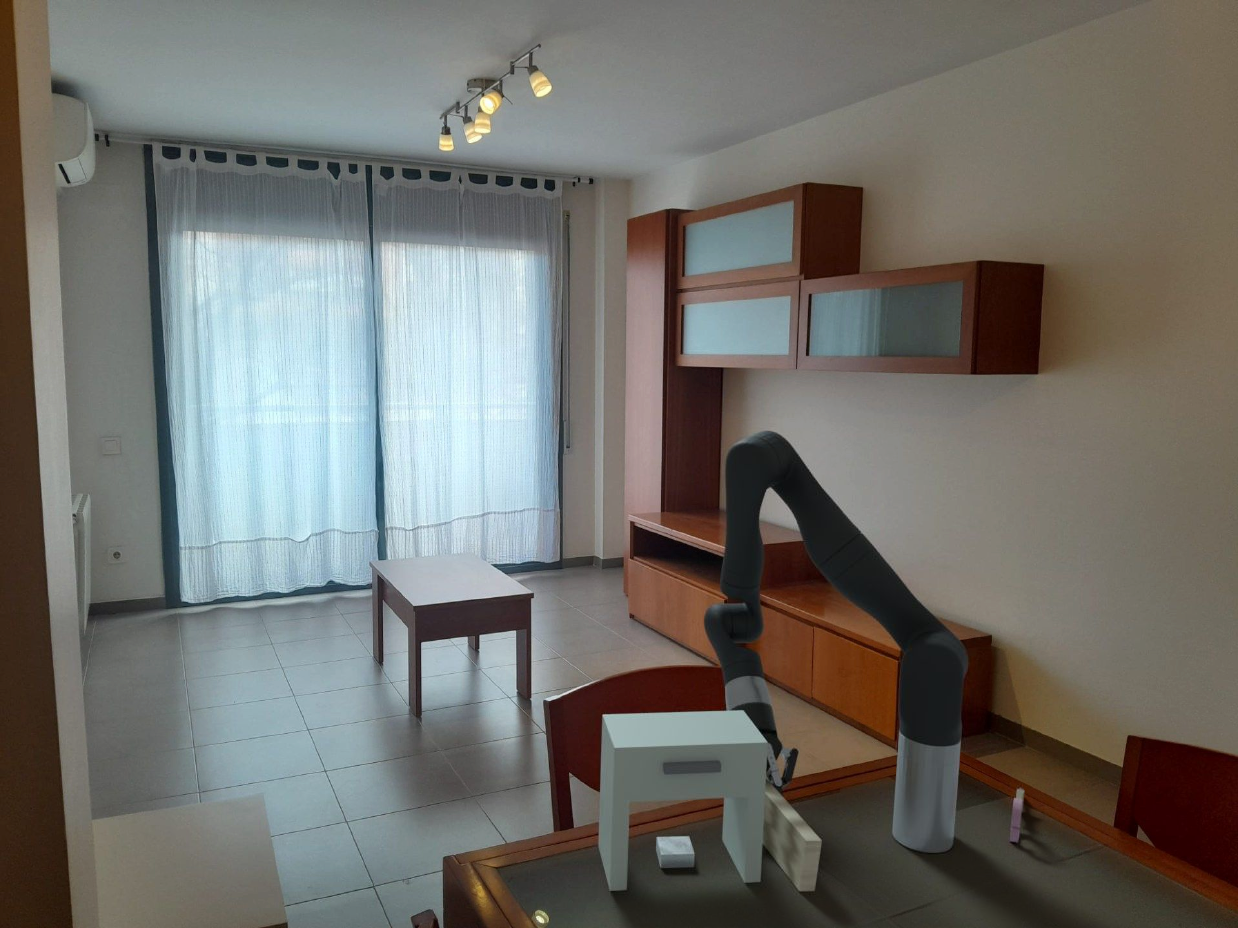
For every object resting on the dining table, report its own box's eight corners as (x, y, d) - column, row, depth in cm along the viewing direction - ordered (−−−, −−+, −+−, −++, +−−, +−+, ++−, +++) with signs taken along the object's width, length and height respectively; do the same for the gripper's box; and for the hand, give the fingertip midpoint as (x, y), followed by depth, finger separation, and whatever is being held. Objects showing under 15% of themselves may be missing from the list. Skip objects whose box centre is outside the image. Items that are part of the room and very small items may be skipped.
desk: (598, 846, 141) (602, 714, 138) (737, 838, 144) (743, 710, 142) (611, 895, 128) (615, 751, 125) (763, 886, 131) (770, 745, 129)
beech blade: (741, 815, 151) (747, 772, 151) (755, 815, 152) (761, 772, 151) (799, 891, 130) (806, 840, 129) (814, 890, 131) (821, 840, 130)
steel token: (656, 851, 140) (656, 836, 140) (688, 850, 141) (688, 836, 141) (660, 869, 135) (661, 854, 135) (693, 868, 136) (694, 853, 136)
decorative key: (1022, 813, 162) (1017, 846, 144) (1015, 811, 162) (1008, 844, 144) (1026, 774, 162) (1021, 803, 144) (1019, 773, 163) (1013, 801, 145)
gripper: (714, 701, 151) (731, 807, 140) (795, 698, 153) (818, 803, 143) (704, 719, 157) (720, 823, 146) (783, 717, 159) (804, 819, 148)
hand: (768, 812), depth 144 cm, fingers closed on beech blade, 2 cm apart
